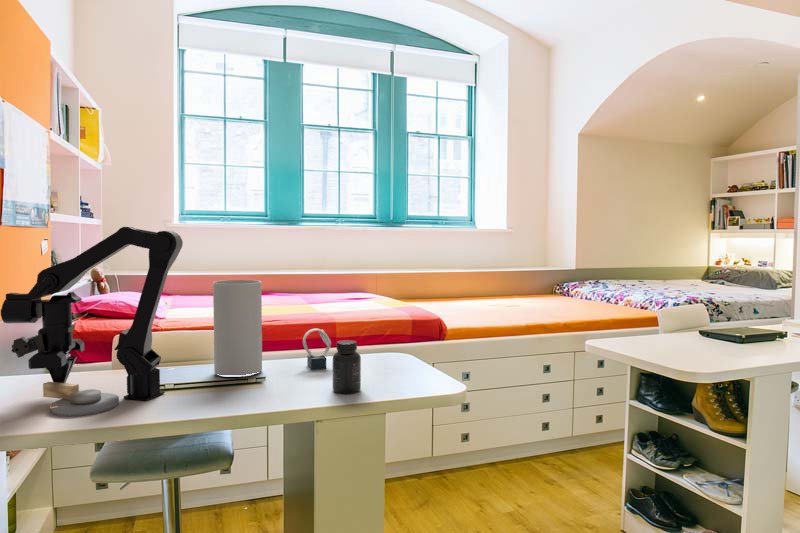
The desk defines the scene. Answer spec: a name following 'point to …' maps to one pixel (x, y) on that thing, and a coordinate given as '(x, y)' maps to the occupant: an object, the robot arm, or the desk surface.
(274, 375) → the desk surface
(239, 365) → the cylinder vase
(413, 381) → the desk surface
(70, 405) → the dial plate
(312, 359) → the watch
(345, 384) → the supplement bottle
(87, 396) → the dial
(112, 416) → the desk surface
